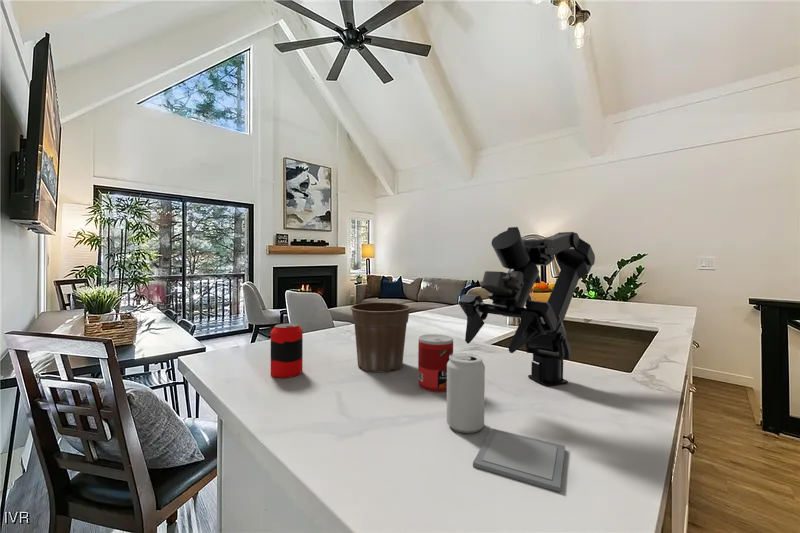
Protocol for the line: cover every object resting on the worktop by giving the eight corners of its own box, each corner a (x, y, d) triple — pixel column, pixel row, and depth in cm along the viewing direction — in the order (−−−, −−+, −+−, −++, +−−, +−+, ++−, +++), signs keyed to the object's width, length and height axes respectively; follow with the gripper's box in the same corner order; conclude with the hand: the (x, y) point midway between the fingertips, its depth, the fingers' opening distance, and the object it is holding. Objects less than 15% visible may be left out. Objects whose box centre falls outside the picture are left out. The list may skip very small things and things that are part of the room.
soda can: (276, 380, 81) (276, 329, 81) (266, 372, 87) (266, 324, 87) (307, 374, 86) (307, 326, 86) (295, 366, 92) (295, 321, 92)
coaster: (492, 431, 58) (492, 427, 58) (565, 449, 52) (565, 445, 52) (472, 466, 48) (472, 461, 48) (559, 492, 43) (560, 486, 43)
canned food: (444, 395, 73) (444, 343, 73) (411, 387, 78) (412, 338, 77) (458, 384, 80) (458, 336, 80) (427, 377, 84) (427, 332, 84)
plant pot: (411, 376, 85) (411, 310, 85) (345, 375, 85) (345, 310, 85) (410, 357, 101) (410, 302, 101) (354, 356, 101) (355, 302, 101)
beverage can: (484, 437, 56) (485, 363, 56) (445, 433, 57) (445, 361, 57) (483, 419, 62) (484, 353, 62) (447, 416, 63) (448, 351, 63)
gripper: (464, 256, 74) (429, 313, 67) (551, 256, 61) (520, 327, 53) (484, 291, 80) (454, 347, 72) (568, 298, 66) (542, 367, 59)
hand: (487, 346), depth 64 cm, fingers open, 9 cm apart
